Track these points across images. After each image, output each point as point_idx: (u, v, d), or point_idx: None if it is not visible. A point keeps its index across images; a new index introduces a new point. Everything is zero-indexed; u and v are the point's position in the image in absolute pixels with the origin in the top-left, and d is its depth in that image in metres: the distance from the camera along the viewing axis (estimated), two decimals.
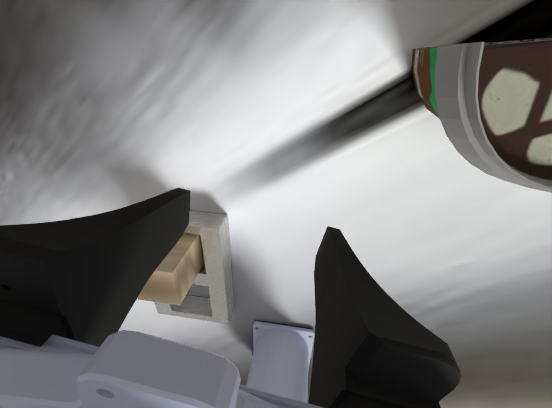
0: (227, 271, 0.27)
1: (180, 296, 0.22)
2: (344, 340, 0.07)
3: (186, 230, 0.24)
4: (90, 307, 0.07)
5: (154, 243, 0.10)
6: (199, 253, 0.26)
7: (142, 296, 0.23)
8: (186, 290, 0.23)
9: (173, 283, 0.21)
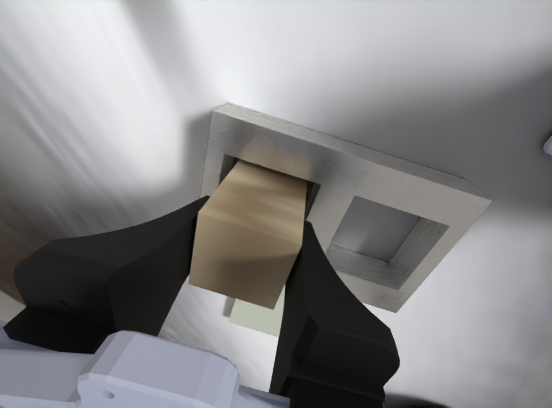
0: (340, 146, 0.13)
1: (282, 233, 0.10)
2: (295, 327, 0.07)
3: (214, 174, 0.13)
4: (137, 319, 0.07)
5: (188, 252, 0.10)
6: (273, 178, 0.13)
7: (266, 300, 0.11)
8: (295, 221, 0.10)
9: (230, 226, 0.09)
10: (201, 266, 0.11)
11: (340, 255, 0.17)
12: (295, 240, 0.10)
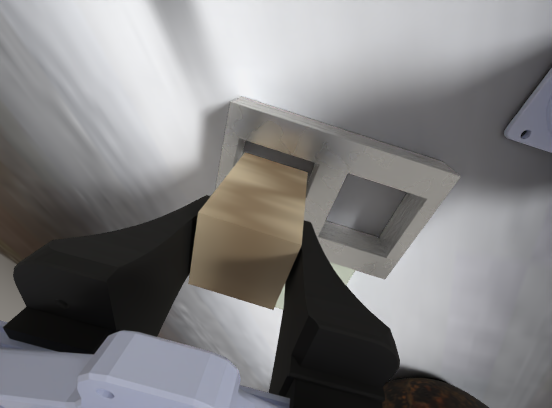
0: (335, 132, 0.15)
1: (282, 233, 0.10)
2: (295, 327, 0.07)
3: (229, 156, 0.16)
4: (137, 319, 0.07)
5: (187, 252, 0.10)
6: (273, 177, 0.13)
7: (266, 299, 0.11)
8: (294, 221, 0.11)
9: (229, 225, 0.09)
10: (201, 266, 0.11)
11: (336, 230, 0.20)
12: (295, 240, 0.10)
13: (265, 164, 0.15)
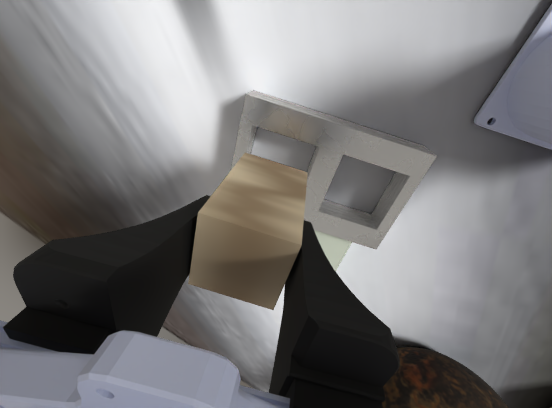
0: (333, 119, 0.18)
1: (281, 233, 0.10)
2: (295, 327, 0.07)
3: (244, 141, 0.19)
4: (137, 320, 0.07)
5: (187, 252, 0.10)
6: (273, 178, 0.13)
7: (266, 300, 0.11)
8: (294, 221, 0.11)
9: (229, 225, 0.09)
10: (201, 266, 0.11)
11: (334, 207, 0.23)
12: (295, 240, 0.10)
13: (265, 164, 0.15)
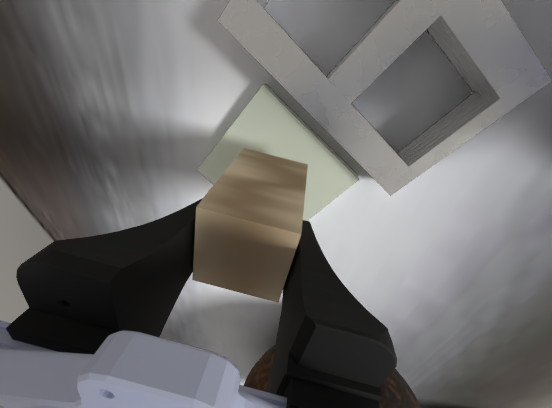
0: None
1: (281, 223, 0.10)
2: (292, 326, 0.07)
3: None
4: (139, 320, 0.07)
5: (189, 252, 0.10)
6: (272, 171, 0.13)
7: (271, 292, 0.11)
8: (294, 212, 0.10)
9: (228, 218, 0.09)
10: (204, 261, 0.11)
11: (364, 118, 0.16)
12: (294, 229, 0.09)
13: (264, 158, 0.15)
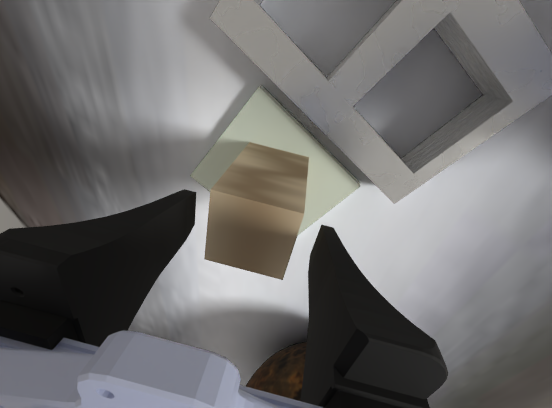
0: None
1: (285, 205, 0.11)
2: (334, 337, 0.07)
3: None
4: (100, 310, 0.07)
5: (161, 245, 0.10)
6: (277, 162, 0.15)
7: (276, 270, 0.12)
8: (297, 196, 0.12)
9: (239, 199, 0.10)
10: (215, 241, 0.12)
11: (366, 121, 0.15)
12: (298, 210, 0.11)
13: (269, 151, 0.16)
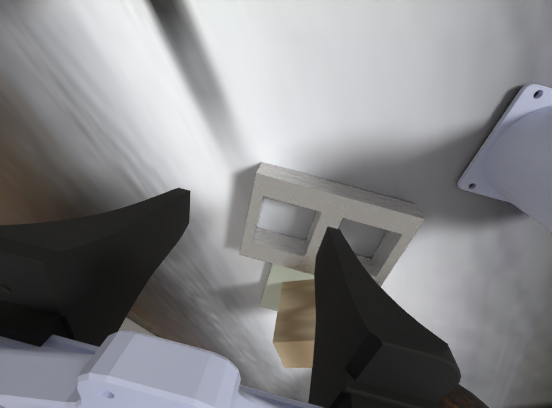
0: (332, 188, 0.21)
1: (308, 337, 0.22)
2: (344, 340, 0.07)
3: (255, 208, 0.22)
4: (90, 307, 0.07)
5: (154, 243, 0.10)
6: (299, 296, 0.26)
7: None
8: (313, 326, 0.23)
9: (286, 342, 0.22)
10: (285, 359, 0.23)
11: None
12: (314, 338, 0.21)
13: (294, 286, 0.27)
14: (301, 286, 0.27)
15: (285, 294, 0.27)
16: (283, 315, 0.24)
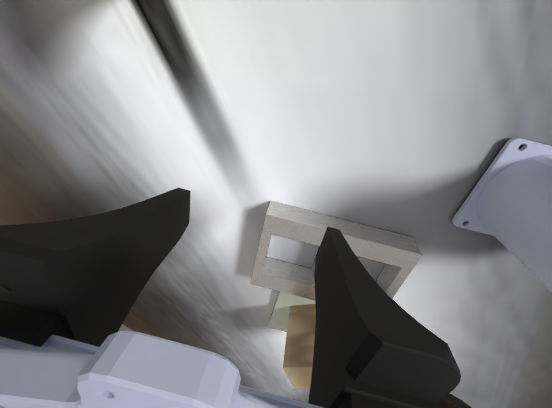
0: (336, 226, 0.23)
1: None
2: (344, 340, 0.07)
3: (265, 243, 0.24)
4: (90, 307, 0.07)
5: (154, 243, 0.10)
6: (306, 321, 0.28)
7: None
8: None
9: (296, 368, 0.24)
10: (295, 382, 0.25)
11: None
12: None
13: (301, 310, 0.29)
14: (308, 310, 0.29)
15: (293, 318, 0.28)
16: (292, 340, 0.26)
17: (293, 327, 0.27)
